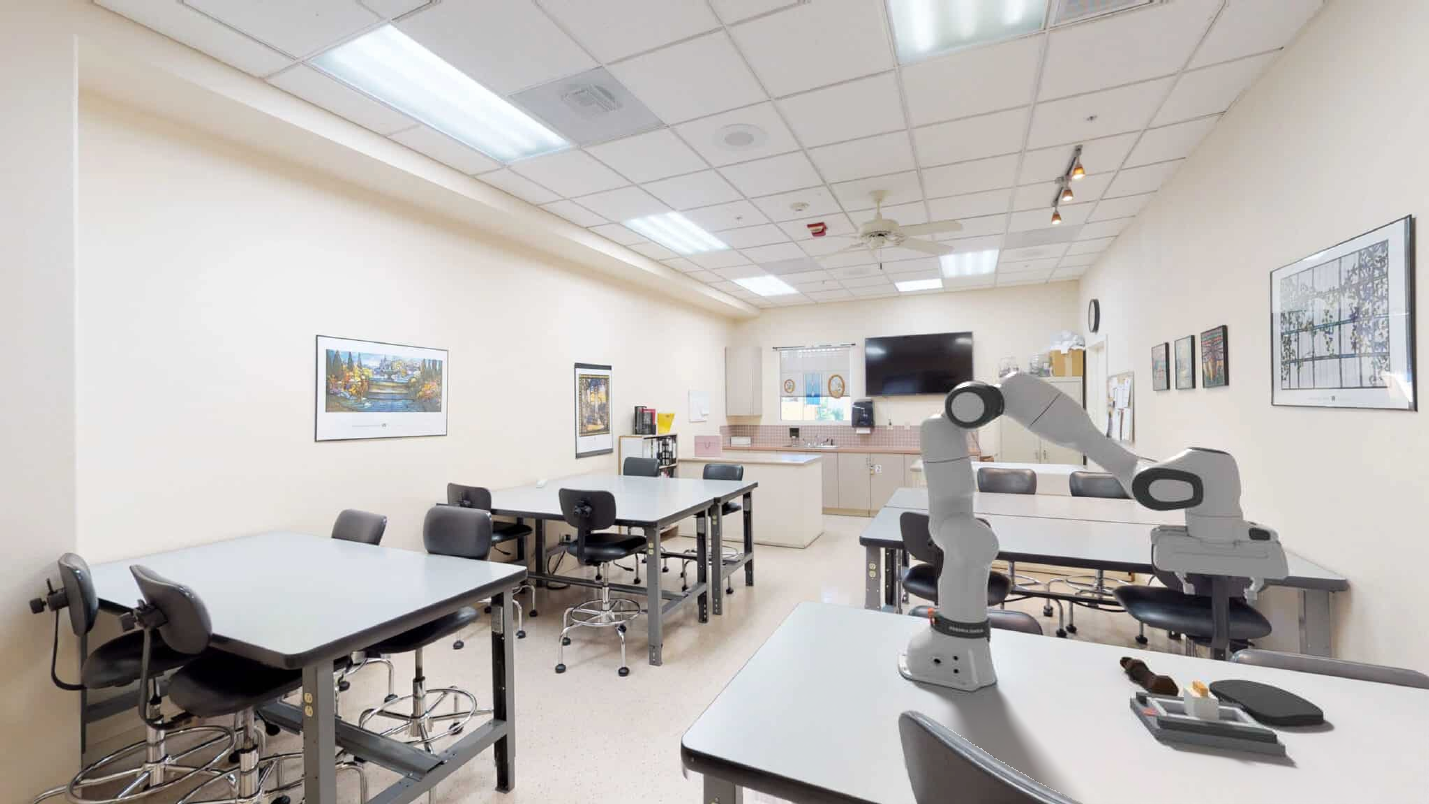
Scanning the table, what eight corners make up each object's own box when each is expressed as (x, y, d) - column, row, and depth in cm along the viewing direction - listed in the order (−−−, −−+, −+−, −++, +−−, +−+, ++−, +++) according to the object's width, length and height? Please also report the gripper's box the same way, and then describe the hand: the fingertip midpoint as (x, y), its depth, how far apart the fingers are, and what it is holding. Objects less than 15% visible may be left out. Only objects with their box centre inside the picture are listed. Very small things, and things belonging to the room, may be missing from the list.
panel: (1155, 738, 107) (1154, 719, 107) (1130, 707, 119) (1129, 690, 119) (1285, 756, 101) (1284, 736, 101) (1245, 721, 113) (1245, 703, 113)
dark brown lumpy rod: (1130, 677, 136) (1170, 707, 121) (1110, 666, 137) (1147, 694, 122) (1142, 657, 136) (1183, 685, 121) (1122, 646, 136) (1160, 672, 122)
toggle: (1194, 722, 109) (1193, 688, 109) (1184, 711, 113) (1183, 678, 113) (1219, 725, 108) (1218, 691, 108) (1208, 714, 111) (1207, 681, 111)
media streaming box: (1335, 726, 111) (1335, 711, 111) (1268, 730, 110) (1268, 714, 110) (1259, 690, 126) (1258, 676, 126) (1199, 693, 125) (1199, 679, 125)
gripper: (1152, 527, 114) (1157, 594, 114) (1289, 533, 104) (1295, 607, 104) (1146, 521, 120) (1151, 586, 119) (1276, 527, 109) (1281, 597, 109)
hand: (1219, 596), depth 111 cm, fingers open, 8 cm apart
